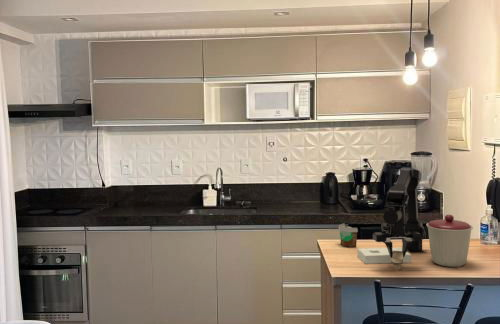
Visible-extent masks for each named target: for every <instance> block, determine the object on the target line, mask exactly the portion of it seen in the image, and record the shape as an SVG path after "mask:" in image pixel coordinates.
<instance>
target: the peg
mask: <svg viewBox="0 0 500 324" xmlns="http://www.w3.org/2000/svg"><path fill="white" fill-rule="evenodd" d="M390 264H392V265H393V269H394V270H397V271H398V270H401V267H402V265H403V264H404V263H403V252H402V251H392V258H391V263H390Z"/></svg>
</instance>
